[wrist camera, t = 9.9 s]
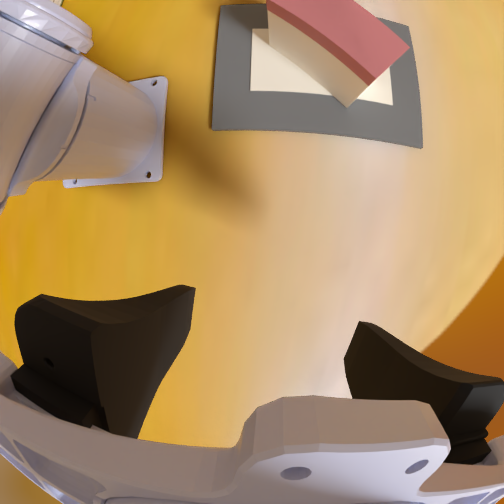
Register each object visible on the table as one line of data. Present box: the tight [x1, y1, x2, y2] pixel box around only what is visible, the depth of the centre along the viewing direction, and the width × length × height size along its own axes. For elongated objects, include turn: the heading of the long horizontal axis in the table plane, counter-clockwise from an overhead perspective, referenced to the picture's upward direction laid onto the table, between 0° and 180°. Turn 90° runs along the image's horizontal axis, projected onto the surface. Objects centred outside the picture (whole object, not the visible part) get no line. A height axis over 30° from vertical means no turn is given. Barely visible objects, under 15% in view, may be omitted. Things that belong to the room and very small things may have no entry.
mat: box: [212, 4, 423, 149], centre depth 16 cm, size 15×11×1 cm
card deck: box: [266, 0, 410, 108], centre depth 12 cm, size 3×7×6 cm, turn 47°
